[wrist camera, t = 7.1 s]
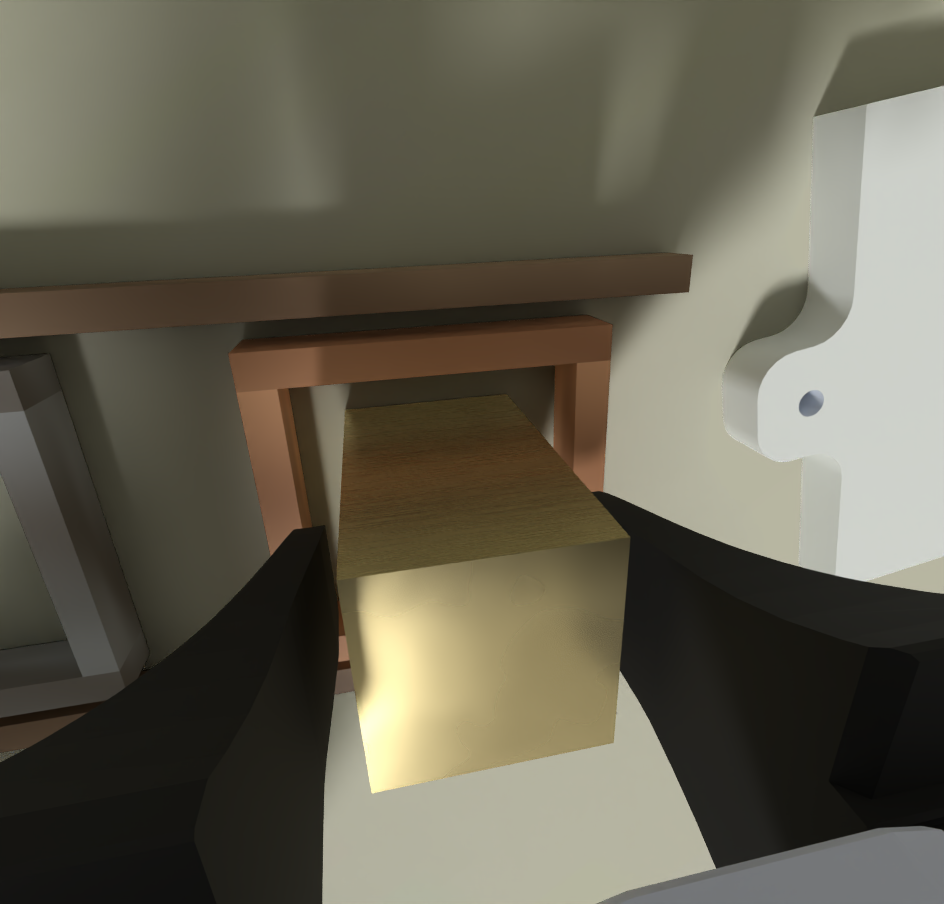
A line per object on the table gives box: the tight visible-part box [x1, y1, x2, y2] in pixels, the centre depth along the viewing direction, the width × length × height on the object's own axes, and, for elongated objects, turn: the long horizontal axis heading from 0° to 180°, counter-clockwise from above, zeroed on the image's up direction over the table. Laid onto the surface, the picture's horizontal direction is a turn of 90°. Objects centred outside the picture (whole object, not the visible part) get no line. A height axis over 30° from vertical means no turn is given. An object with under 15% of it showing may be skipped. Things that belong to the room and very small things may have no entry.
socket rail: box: [0, 253, 693, 753], centre depth 13 cm, size 11×24×2 cm, turn 92°
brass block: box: [336, 394, 630, 793], centre depth 11 cm, size 4×4×7 cm
